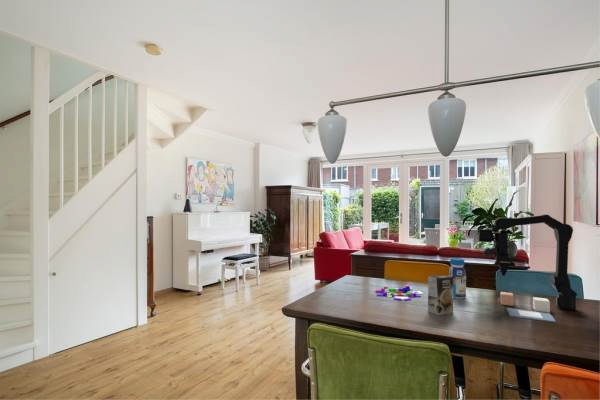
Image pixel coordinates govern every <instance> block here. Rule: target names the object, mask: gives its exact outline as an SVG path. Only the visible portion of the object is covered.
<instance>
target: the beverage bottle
mask: <svg viewBox="0 0 600 400" xmlns="http://www.w3.org/2000/svg"><path fill="white" fill-rule="evenodd" d="M449 265H451V266H450V267H449V269H448V273H449V274H448V276H451V277H453V299H458V300H459V299H461V300H463V299H466V298H467V275H466V274H467V271H466V269H465V267H464V266H465V259H464V258H461V257H451V258H450V260H449Z"/></svg>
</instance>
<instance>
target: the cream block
mask: <svg viewBox="0 0 600 400" xmlns="http://www.w3.org/2000/svg"><path fill="white" fill-rule="evenodd" d="M532 308H533V309H534V310H533V311H536V312H545V313H551V301H550V300H549V299H548V298H547V297H546V298H543V297H537V296H535V297H534V296H532Z"/></svg>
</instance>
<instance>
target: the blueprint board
mask: <svg viewBox="0 0 600 400" xmlns="http://www.w3.org/2000/svg"><path fill="white" fill-rule="evenodd" d="M506 310H507V313H508V315H509V317H511V318H519V319H527V320H534V321H540V322H541V321H542V322H549V323H557V321H556V320H555V318H554V317H553V315H552V314H551V312H541V311H535V310H527V309H518V308H512V307H511V308H510V307H506Z"/></svg>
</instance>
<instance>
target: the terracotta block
mask: <svg viewBox="0 0 600 400" xmlns="http://www.w3.org/2000/svg"><path fill="white" fill-rule="evenodd" d="M514 297H515V296H514V293H512V292H505V291H500V304H501V305H503V306H511V307H513V306H514V305H515V303H514V299H515V298H514Z"/></svg>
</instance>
